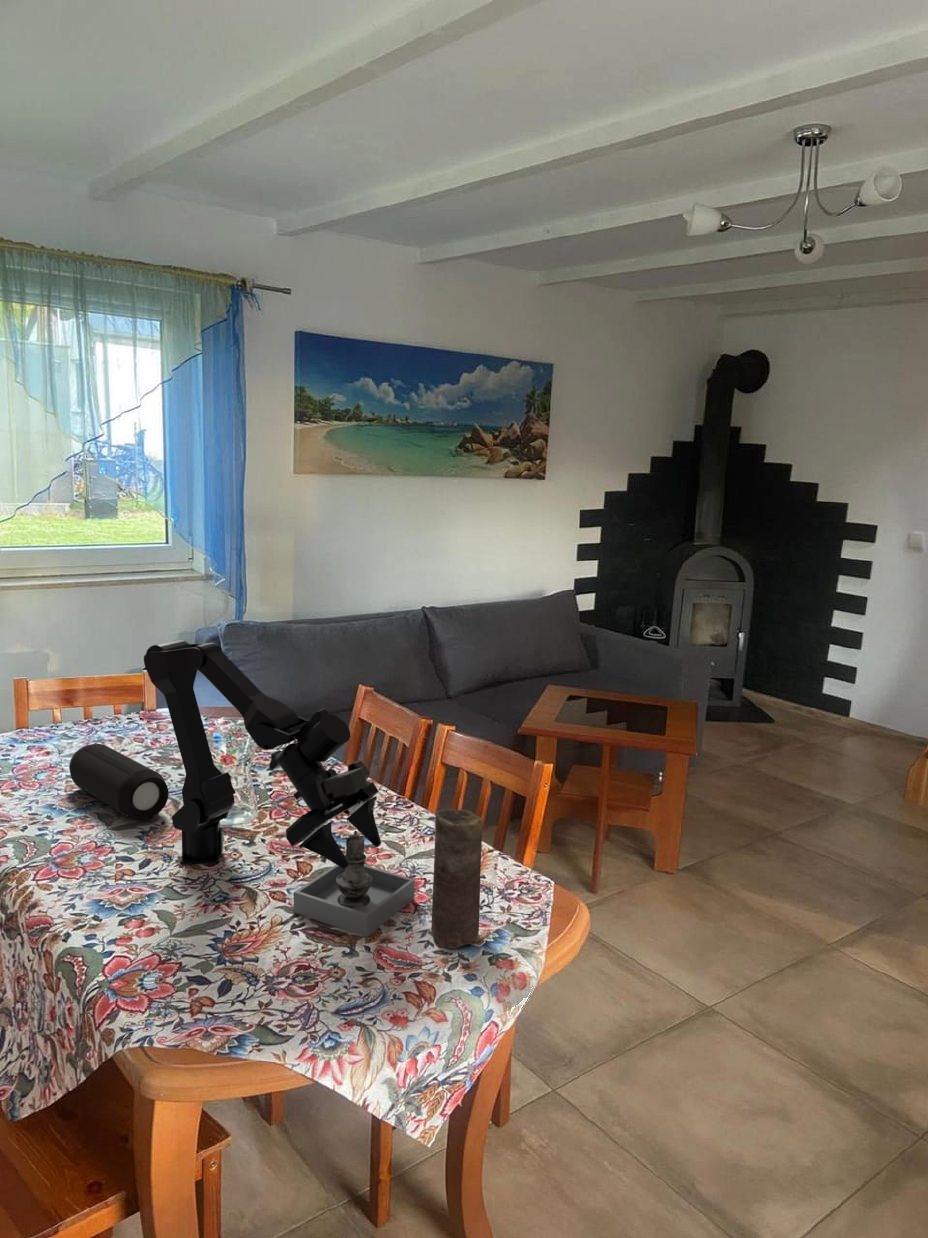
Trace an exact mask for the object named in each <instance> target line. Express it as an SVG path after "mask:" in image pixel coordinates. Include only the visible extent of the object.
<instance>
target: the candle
mask: <svg viewBox="0 0 928 1238" xmlns="http://www.w3.org/2000/svg"><path fill="white" fill-rule="evenodd" d="M434 824H435V826H434V853H433V855H434V856H433V857H434V858H433V875H432V876H433V879H432V880H433V882H432V902H431V903H432V904H431V925H430V926H431V931H430V933H431V936H432V939H433V941H434V942H433V943H435V945H437V946H439V947H441V948H450V949H457V948H460V947H462V946H466V945H469V944H473V943H474V942H475V941H476V940H477V938H478V936H479V932H480V931H479V930H480V913H481V912H480V909H481V908H480V905H481V904H480V903H481V901H480V900H481V899H480V898H481V870H482V869H481V867H482V841H483V819H482V818H481V817H480V816H477V815H476V814H475V813H474V812H472V811H470V810H468V809H458V808H456V809H455V808H442V809H439V810H438V811H437V812H436V813H435V823H434Z"/></svg>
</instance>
